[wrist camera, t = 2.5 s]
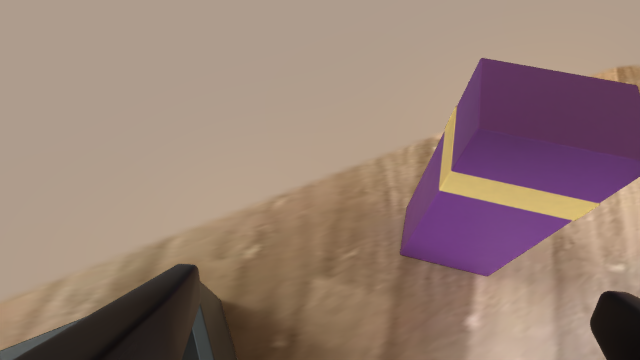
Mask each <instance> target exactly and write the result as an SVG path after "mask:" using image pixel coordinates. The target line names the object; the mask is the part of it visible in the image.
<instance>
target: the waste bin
mask: <svg viewBox="0 0 640 360" xmlns="http://www.w3.org/2000/svg"><path fill="white" fill-rule="evenodd" d="M200 289H201V301H200V305H199V309H198V312H197V315H196V318H195V321H194V324H193V327H192V330H191V333H190V336H189V339H188V342H187V345H186V348H185V351H184V354H183V357H182V360H237V356H236V353H235V349H234V346H233V342H232V339H231V335H230V331H229V328H228V324H227V321H226V317H225V314H224V310H223V307H222V303H221V300H220V299H219V298H218V297H217V296H216V295H215V294H214V293H212V292H211V291H210V290H209V289H208V288H207V287H206V286H205V285H204V284H203V283H201V282H200ZM84 318H86V317H84ZM84 318H82V319H84ZM82 319H79V320H77V321H74V322H72V323H69V324H67V325H64V326H62V327H59V328H57V329H54V330H52V331H49V332H47V333H44V334H42V335H39V336H37V337H34V338H32V339H29V340H26V341H24V342H21V343H19V344H16V345H14V346H11V347H9V348H6V349H4V350H1V351H0V360H13V359H15V358H16V357H18V356H20V355H21V354H23V353H25V352H27V351H28V350H30V349H32V348H34V347H35V346H37V345H39V344H41V343H42V342H44V341H46V340H47V339H49V338H51V337H53V336H54V335H56V334H58V333H60V332H61V331H63V330H65V329H67V328H68V327H70V326H72V325H73V324H75V323H77V322H79V321H80V320H82Z"/></svg>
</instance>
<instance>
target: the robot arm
mask: <svg viewBox="0 0 640 360" xmlns="http://www.w3.org/2000/svg"><path fill="white" fill-rule="evenodd" d="M200 301H201V289H200V280H199V271H198V268H197V266H195V265H190V264H178V265H176V266H174V267H172V268H170V269H169V270H167V271H165V272H163V273H162V274H160V275H158V276H157V277H155V278H153V279H151V280H150V281H148V282H146V283H144V284H143V285H141V286H139V287H137V288H136V289H134V290H132V291H131V292H129V293H127V294H125V295H124V296H122V297H120V298H118V299H117V300H115V301H113V302H112V303H110V304H108V305H106V306H105V307H103V308H101V309H99V310H98V311H96V312H94V313H93V314H91V315H89V316H87V317H86V318H84V319H82V320H80V321H79V322H77V323H75V324H73V325H72V326H70V327H68V328H67V329H65V330H63V331H61V332H60V333H58V334H56V335H54V336H53V337H51V338H49V339H47V340H46V341H44V342H42V343H41V344H39V345H37V346H35V347H34V348H32V349H30V350H28V351H27V352H25V353H23V354H21V355H20V356H18V357H16V358H15V359H13V360H182V357H183V354H184V351H185V348H186V345H187V342H188V339H189V336H190V333H191V330H192V327H193V324H194V321H195V318H196V315H197V312H198V309H199V305H200ZM590 326H591V330H592V333H593V335H594V336H595V338H596V340H597V342H598V344H599V346H600V348H601V350H602V352H603V354H604V356H605V358H606V360H640V298H638V297H636V296H634V295H632V294H629V293H626V292H617V291H606V292H604V293H603V294H601V296H600V298H599V300H598V303H597V305H596V308H595V310H594V312H593V315H592V317H591V320H590Z"/></svg>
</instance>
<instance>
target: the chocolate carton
mask: <svg viewBox="0 0 640 360" xmlns="http://www.w3.org/2000/svg"><path fill="white" fill-rule="evenodd" d="M638 177H640V94H639V90H638V86H636V85H632V84H626V83H621V82H615V81H610V80H604V79H598V78H593V77H587V76H581V75H575V74H570V73H564V72H559V71H553V70H547V69H542V68H536V67H531V66H525V65H519V64H513V63H508V62H502V61H497V60H491V59H485V58H481V59H480V61H479V63H478V65H477V67H476V69H475V71H474V73H473V75H472V77H471V79H470V81H469V83H468V85H467V87H466V89H465V91H464V93H463V95H462V97H461V99H460V101H459V103H458V105H457V106H456V107H455V109H454V111H453V113H452V115H451V117H450V119H449V121H448V123H447V125H446V127H445V132H444V134H443V136H442V138H441V140H440V142H439V144H438V146H437V148H436V150H435V152H434V154H433V156H432V158H431V160H430V162H429V164H428V166H427V168H426V170H425V172H424V174H423V176H422V178H421V180H420V182H419V184H418V186H417V188H416V190H415V192H414V194H413V196H412V198H411V200H410V202H409V204H408V206H407V210H406V217H405V223H404V230H403V236H402V243H401V249H400V254H401V255H404V256H408V257H412V258H416V259H420V260H424V261H428V262H432V263H436V264H440V265H444V266H448V267H452V268H456V269H460V270H464V271H468V272H472V273H476V274H480V275H484V276H489V275H490V274H492V273H494V272H495V271H497V270H498V269H500V268H501V267H503V266H504V265H506V264H507V263H509V262H510V261H512V260H513V259H515V258H516V257H518V256H519V255H521V254H523V253H524V252H526V251H527V250H529V249H530V248H532V247H533V246H535V245H536V244H538V243H539V242H541V241H542V240H544V239H545V238H547V237H548V236H550V235H551V234H553V233H555V232H556V231H558V230H559V229H561V228H562V227H564V226H565V225H567V224H568V223H570V222H571V221H576V220H577V219H579V218H581V217H582V216H584V215H585V214H587V213H588V212H590V211H591V210H593V209H594V208H596V207H597V206H599V205H600V202H602V201H603V200H605V199H606V198H608V197H609V196H611V195H613V194H614V193H616V192H617V191H619V190H620V189H622V188H623V187H625V186H626V185H628V184H629V183H631V182H632V181H634V180H635V179H637V178H638Z"/></svg>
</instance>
